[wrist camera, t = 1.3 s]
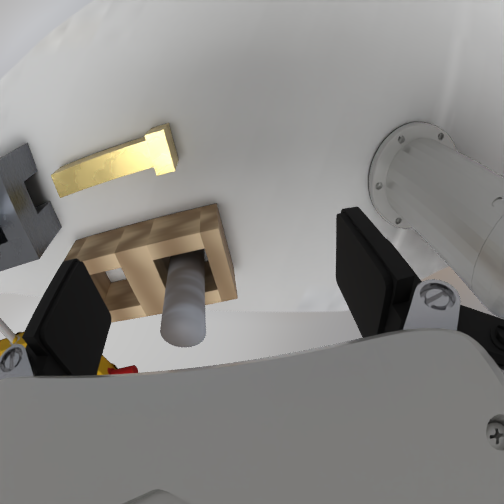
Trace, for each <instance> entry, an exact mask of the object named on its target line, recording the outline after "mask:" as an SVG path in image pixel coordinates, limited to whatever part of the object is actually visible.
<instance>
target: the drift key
mask: <svg viewBox="0 0 504 504" xmlns="http://www.w3.org/2000/svg"><path fill="white" fill-rule="evenodd" d="M177 163H178V156H177V152H176V149H175V145H174V141H173V138H172V134H171V130H170V126H169V123H167V124H164V125H160V126H157V127H153V128H151V129H150V130H149V131H148V132H147V133H146V134H145V137H142V138H139V139H136V140H133V141H130V142H127V143H124V144H121V145H118V146H115V147H112V148H109V149H106V150H103V151H100V152H98V153H95V154H92V155H90V156H87V157H84V158H82V159H79V160H77V161H74V162H72V163H69V164H67V165H64V166H62V167H60V168H59V169H58V170H57V171H55V172H54V173H53V174H52V175H51V177H52V179H53V182H54V184H55V187H56V189H57V192H58V194H59V197H60V198H61V197H64V196H67V195H69V194H72V193H75V192H78V191H80V190H83V189H86V188H89V187H92V186H95V185H98V184H101V183H104V182H107V181H110V180H113V179H116V178H119V177H122V176H125V175H129V174H132V173H135V172H138V171H142V170H145V169H149V168H152V167H154V169H155V172H156V175H157V176H158V175H162V174H165V173H169V172H173V171H175V170H176V166H177Z"/></svg>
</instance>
